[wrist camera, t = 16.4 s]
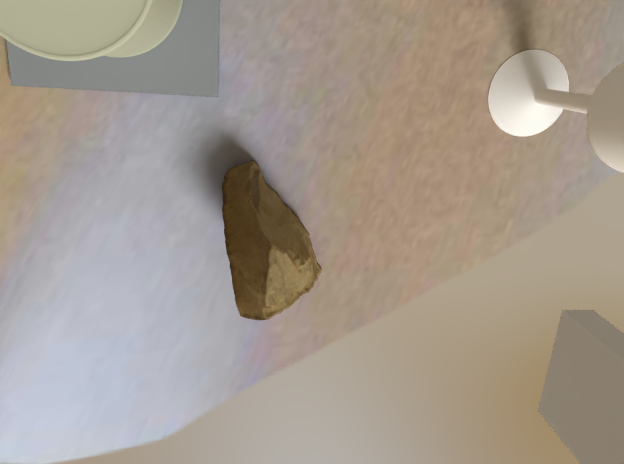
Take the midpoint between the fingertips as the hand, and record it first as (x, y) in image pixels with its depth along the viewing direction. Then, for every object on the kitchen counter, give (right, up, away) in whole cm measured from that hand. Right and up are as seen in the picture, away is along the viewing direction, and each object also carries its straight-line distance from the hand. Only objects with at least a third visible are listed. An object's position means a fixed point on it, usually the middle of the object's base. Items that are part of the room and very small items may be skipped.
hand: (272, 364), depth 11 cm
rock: (-2, +4, +32) cm, 32 cm away
